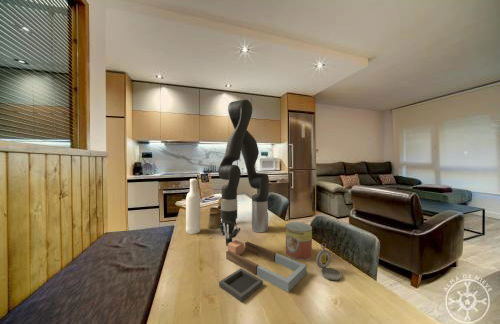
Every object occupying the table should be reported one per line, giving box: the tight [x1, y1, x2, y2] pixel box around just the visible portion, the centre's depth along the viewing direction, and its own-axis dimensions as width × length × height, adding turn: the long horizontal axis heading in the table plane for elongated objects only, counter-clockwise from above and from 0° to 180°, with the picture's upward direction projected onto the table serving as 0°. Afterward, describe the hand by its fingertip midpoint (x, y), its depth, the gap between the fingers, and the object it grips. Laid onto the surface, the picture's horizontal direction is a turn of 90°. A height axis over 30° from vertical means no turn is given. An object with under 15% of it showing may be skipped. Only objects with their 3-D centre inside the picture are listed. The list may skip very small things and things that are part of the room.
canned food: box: [284, 221, 313, 261], centre depth 81 cm, size 11×11×12 cm
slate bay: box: [256, 253, 308, 293], centre depth 66 cm, size 13×12×3 cm
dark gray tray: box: [218, 268, 264, 303], centre depth 60 cm, size 10×10×2 cm
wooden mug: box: [207, 196, 222, 230], centre depth 116 cm, size 9×14×18 cm, turn 143°
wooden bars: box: [225, 241, 277, 276], centre depth 76 cm, size 13×16×3 cm
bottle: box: [185, 178, 201, 235], centre depth 105 cm, size 8×8×30 cm
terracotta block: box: [227, 239, 245, 256], centre depth 82 cm, size 5×5×4 cm
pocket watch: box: [315, 242, 343, 281], centre depth 67 cm, size 8×8×10 cm
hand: (228, 245), depth 85 cm, fingers closed
